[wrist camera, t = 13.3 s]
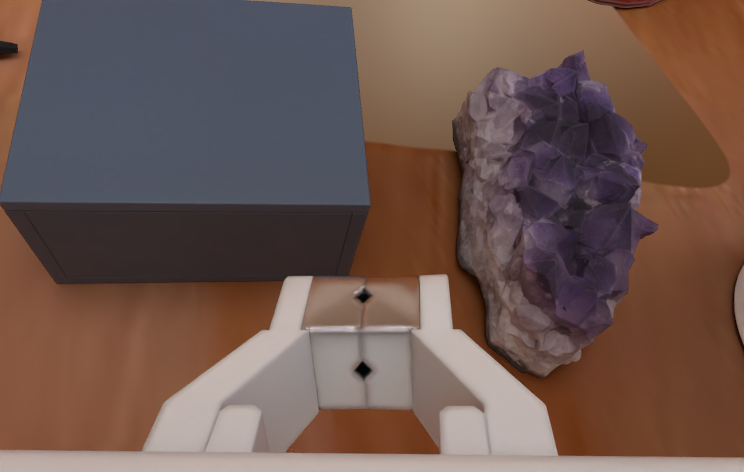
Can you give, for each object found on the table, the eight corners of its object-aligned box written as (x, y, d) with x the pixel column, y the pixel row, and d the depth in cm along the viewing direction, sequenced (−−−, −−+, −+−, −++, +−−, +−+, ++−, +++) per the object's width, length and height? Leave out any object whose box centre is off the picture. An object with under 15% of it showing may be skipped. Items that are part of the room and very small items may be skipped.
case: (83, 106, 41) (46, 8, 34) (335, 115, 44) (350, 27, 37) (56, 284, 35) (4, 211, 28) (347, 280, 38) (368, 213, 31)
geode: (643, 386, 38) (732, 340, 29) (455, 380, 38) (486, 332, 29) (599, 115, 47) (657, 16, 38) (446, 110, 47) (468, 9, 38)
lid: (48, -3, 34) (44, -15, 33) (349, 17, 37) (351, 6, 36) (3, 210, 28) (-3, 201, 27) (368, 213, 31) (371, 205, 30)
